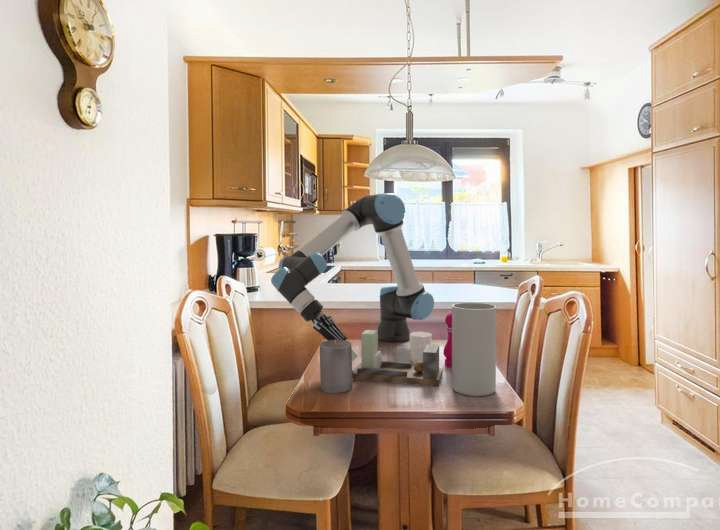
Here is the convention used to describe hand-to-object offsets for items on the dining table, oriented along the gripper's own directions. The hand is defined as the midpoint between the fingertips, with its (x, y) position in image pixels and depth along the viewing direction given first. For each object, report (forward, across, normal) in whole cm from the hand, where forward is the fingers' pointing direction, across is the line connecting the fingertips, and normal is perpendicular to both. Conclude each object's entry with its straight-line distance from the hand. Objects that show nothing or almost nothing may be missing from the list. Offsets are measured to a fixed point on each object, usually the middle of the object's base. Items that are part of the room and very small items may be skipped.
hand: (355, 357), depth 151 cm
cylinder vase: (+31, +6, +23) cm, 39 cm away
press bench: (+14, 0, +6) cm, 15 cm away
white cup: (+17, -20, +9) cm, 28 cm away
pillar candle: (+3, +14, -6) cm, 16 cm away
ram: (+6, 0, +2) cm, 6 cm away
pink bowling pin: (+26, -18, +18) cm, 36 cm away
